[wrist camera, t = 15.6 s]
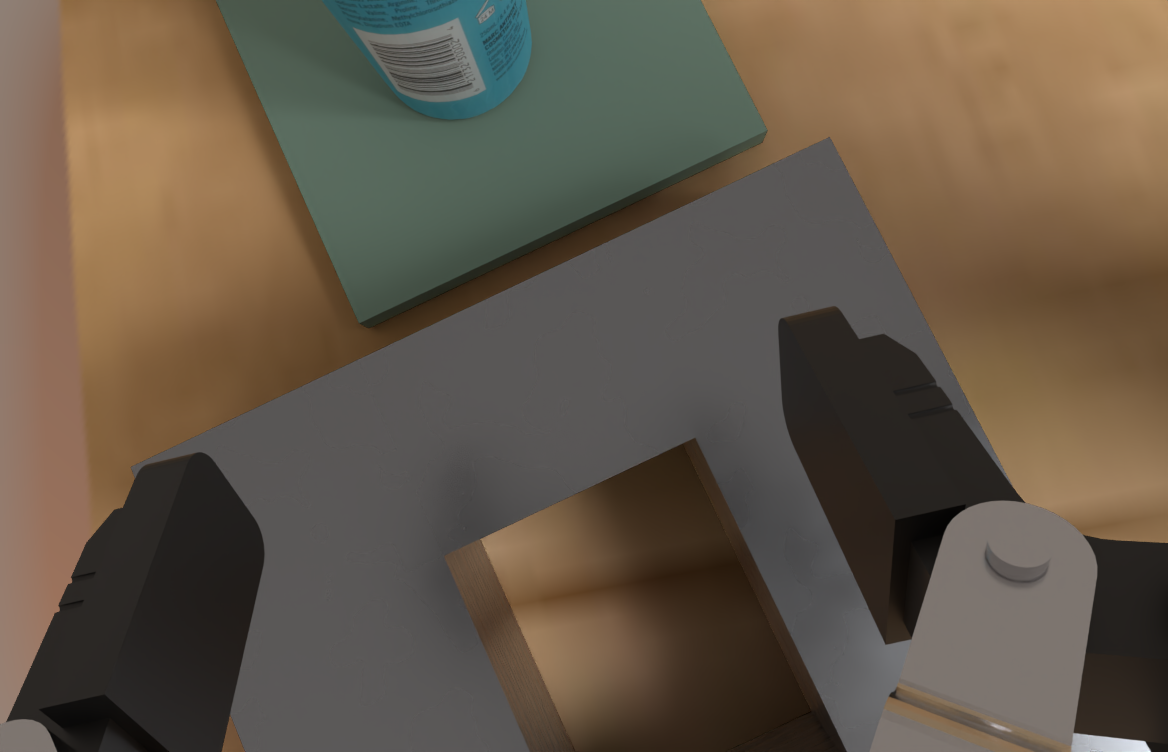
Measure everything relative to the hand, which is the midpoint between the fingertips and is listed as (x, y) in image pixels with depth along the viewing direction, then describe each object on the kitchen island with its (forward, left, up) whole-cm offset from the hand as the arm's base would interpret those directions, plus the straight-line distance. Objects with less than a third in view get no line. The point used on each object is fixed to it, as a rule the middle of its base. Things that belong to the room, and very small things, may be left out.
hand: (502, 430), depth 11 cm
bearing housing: (0, +6, -14) cm, 15 cm away
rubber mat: (-3, -13, -14) cm, 20 cm away
